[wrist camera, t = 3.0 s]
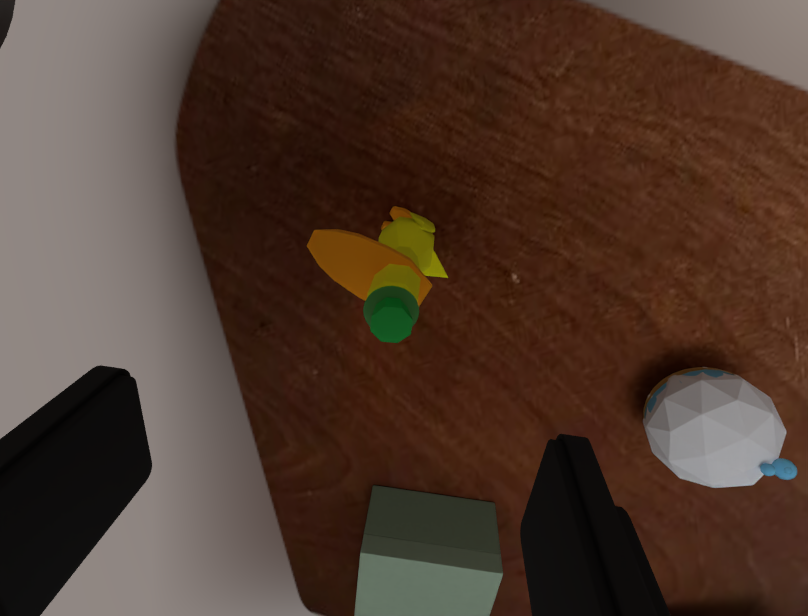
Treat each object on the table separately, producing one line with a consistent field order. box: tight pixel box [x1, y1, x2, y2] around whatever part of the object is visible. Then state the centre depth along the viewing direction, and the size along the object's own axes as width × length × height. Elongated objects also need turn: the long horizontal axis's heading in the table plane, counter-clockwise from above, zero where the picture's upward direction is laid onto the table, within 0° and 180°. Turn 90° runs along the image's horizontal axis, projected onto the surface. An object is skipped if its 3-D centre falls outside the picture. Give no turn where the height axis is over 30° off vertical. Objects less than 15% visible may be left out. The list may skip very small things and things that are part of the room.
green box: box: [354, 485, 503, 616], centre depth 37 cm, size 10×14×6 cm
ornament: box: [643, 367, 797, 488], centre depth 27 cm, size 7×7×8 cm
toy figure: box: [307, 206, 448, 343], centre depth 21 cm, size 7×4×12 cm, turn 61°
